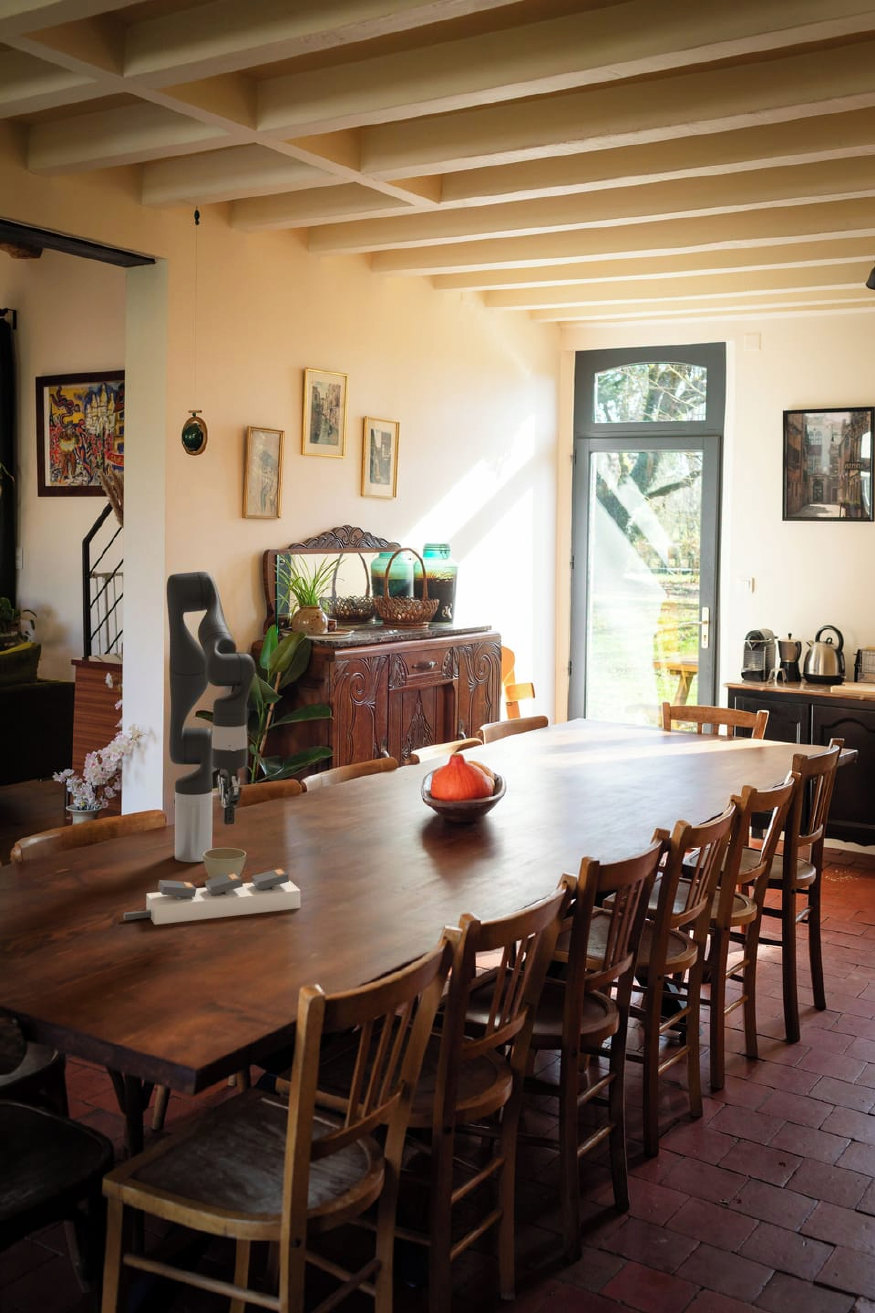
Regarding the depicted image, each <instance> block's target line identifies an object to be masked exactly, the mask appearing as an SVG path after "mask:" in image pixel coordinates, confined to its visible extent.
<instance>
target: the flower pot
mask: <svg viewBox="0 0 875 1313" xmlns="http://www.w3.org/2000/svg"><path fill="white" fill-rule="evenodd" d="M246 857H247V852H246V851H244V850H242V849H239V848H233V847H217V848H212V849H211V850H207V851H205V852H204V853H203V859H204V861H203V862H204V863H203V864H204V868H205V870H206V872H207V875H208V877H209V880H210V879H214V878H217V877H221V876H225V875H228V874H232V873H237V874H238V875H239V876H240V875H241V874H242V871H243V868H244V865H245V862H246Z"/></svg>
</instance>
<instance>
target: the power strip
mask: <svg viewBox="0 0 875 1313" xmlns="http://www.w3.org/2000/svg"><path fill="white" fill-rule="evenodd" d="M195 888H196V894H195V897H186V896H171V895H162V893H161V892H160V891H158V892H149V893H146V897H145V898H146V900H145V901H146V910H138V911H137V910H136V911H128V912H123V919H124V921H128V920H135V919H136V920H137V919H138V920H139V919H145V918H150V920H151V921H152V922H153V924H154V925H155V926H156V925H165V924H172V923H173V924H174V923H181V922H182V923H183V922H189V921H199V920H207V919H217V918H223V917H225V918H226V917H232V916H233V917H235V916H240V915H241V916H243V915H251V914H258V913H259V914H260V913H268V912H278V911H279V912H280V911H286V910H294V909H301V892H302V891H301V889H299V887H298V886H296V884H295V883H293V882H292V881H291V880H290V879H289V882H287V883H283V884H279V885H276V886H272V887H269V888H265V889H262V890H258V889H257V888H256V887H255V886H254V885H253V883H252V882H246V883H243V887H240V888H236V889H232V890H229V891H225V892H222V893H218V894H215V895H211V894H210V893H209V891H208V890H207V889H206V887H198V888H197V887H195Z"/></svg>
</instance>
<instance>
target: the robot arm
mask: <svg viewBox="0 0 875 1313" xmlns="http://www.w3.org/2000/svg"><path fill="white" fill-rule="evenodd" d="M166 603H167V616H168V617H167V618H168V628H169V629H168V630H169V663H168V664H169V666H168V667H169V669H168V670H169V689H170V691H169V692H170V720H169V721H170V722H169V724H170V726H169V741H168V743H169V748H168V749H169V750H168V751H169V758H170V761H171V763H173V764H174V765H181V766H182V765H186V766H187V765H189V766H190V765H199V767H198V768H197V770H195V771H194V772H192V773H190V774H187V775H184V776H181V777H179V778H177V779H176V780H175V783H174V859H175V860H176V861H179V862H183V863H198V862H200V863H201V862H204V859H203V853H204V852H205V851H207V850H211V849H213V769H217V770H219V774H218V775H217V776H216V785H217V791H218V797H219V798H218V799H219V802H220V804H221V807H222V823H223V824H224V825H226V826H227V825H229V826H230V825H234V824H235V808H236V807H238V806H239V803H240V799H241V796H242V792H243V788H242V786H241V785H240V783H241V777H240V776H239V772H238V771H239V770H240V769H244V768H246V767H247V764H248V762H247V761H248V750H247V749H248V732H247V705H248V699H249V696H250V691H251V688H252V686H253V682H254V678H255V674H256V664H255V661H254V659H253V657H252V656H251V655H249V654H248V653H244V652H242V653H240V652H239V653H237V645H236V642H235V639H234V637H233V635H232V633H231V631H230V629H229V627H228V624H227V622H226V619H225V614H224V610H223V606H222V602H221V598H220V594H219V591H218V589H217V584H216V582H215V580H214V577H213V576H212V574H210V573H209V572H206V571H194V572H180V573H175V574H174V573H173V574H171V575H169V576H168V578H167V582H166ZM202 611H203V612H204V611H206V612H205V614H204V616H203V617H202V619H201V621H200V623H199V625H198V629H197V638H198V641H199V643H198V641H197V640H196V639H195V638H194V636H193V634H191V632H190V630H189V629H188V627H187V625H186V623H185V620H184V614H186V613H194V612H202ZM209 683H210V684H211V686H214V687H217V688H218V687H234V689H233V690H232V692H230V694H228V695H224V696H221V697H218V698H216V699H215V700H214V701H213V705H212V706H213V709H212V710H213V712H212V713H213V714H212V715H213V716H212V717H213V718H212V720H213V722H212V724H213V726H212V729H211V728H209V727H184V725H185V722H186V719H187V718H188V716H189V714H190V712H191V711H192V709H193V708H194V706H195V705H196V704H197V703H198V701H199V700H200V699H201V698H202V697H203V694H204V693H205V691H206V690H207V687H208V685H209Z"/></svg>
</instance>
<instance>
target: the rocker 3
mask: <svg viewBox="0 0 875 1313" xmlns="http://www.w3.org/2000/svg"><path fill="white" fill-rule="evenodd" d="M289 880H290V879H289V874H288V872H287V871H285V870H284V869H283V868H282V867H280V868H276V869H272V870H269V871H265V872H261V873H258V874H255V875H251V883H253V885H254V886H255V887H256V888H257V889H258V890H262V889H265V888H269V887H272V886H276V885H279V884H283V883H287V882H289Z"/></svg>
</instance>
